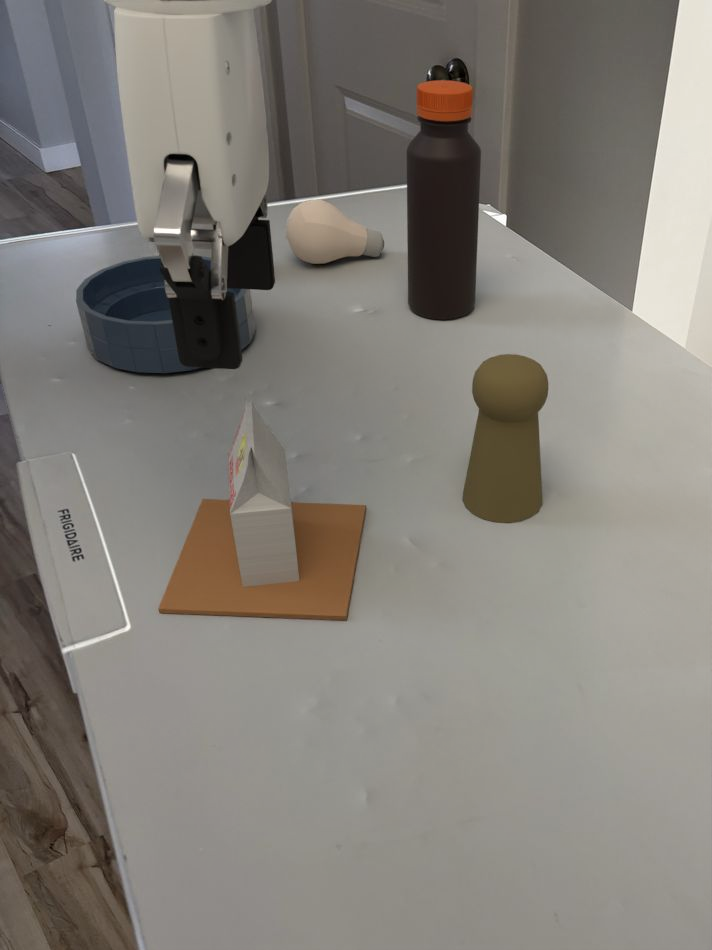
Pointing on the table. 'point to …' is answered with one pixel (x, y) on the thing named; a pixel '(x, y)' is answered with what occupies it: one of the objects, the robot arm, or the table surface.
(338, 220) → the light bulb
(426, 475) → the table surface
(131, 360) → the bowl
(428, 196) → the bottle
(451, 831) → the table surface
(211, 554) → the mat
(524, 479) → the pepper shaker
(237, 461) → the white milk carton
